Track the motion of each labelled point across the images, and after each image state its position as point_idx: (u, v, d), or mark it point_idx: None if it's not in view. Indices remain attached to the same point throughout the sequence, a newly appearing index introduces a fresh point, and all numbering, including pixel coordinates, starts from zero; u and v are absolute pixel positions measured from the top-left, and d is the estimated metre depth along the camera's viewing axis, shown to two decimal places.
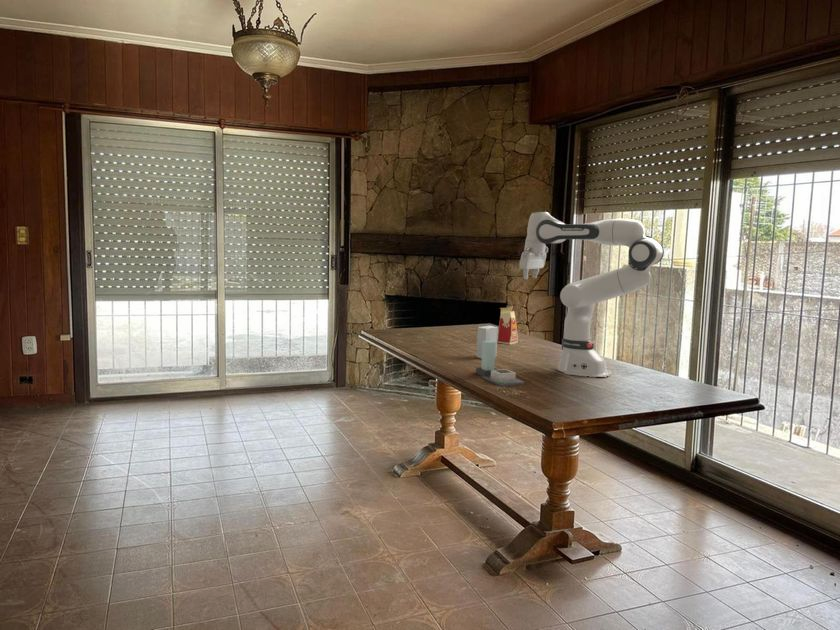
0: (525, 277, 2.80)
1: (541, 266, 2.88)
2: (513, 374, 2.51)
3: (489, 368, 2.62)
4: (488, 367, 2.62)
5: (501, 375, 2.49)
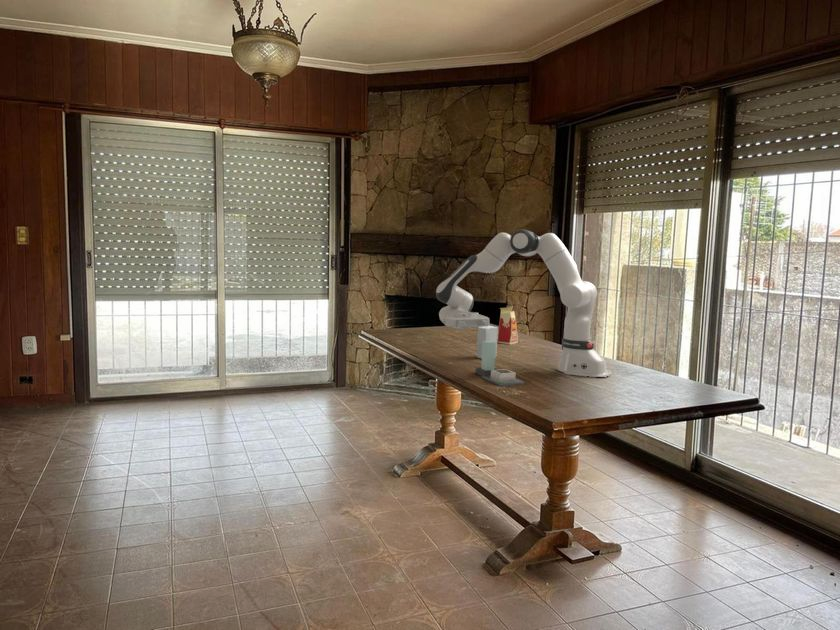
0: (463, 324, 2.72)
1: (482, 318, 2.81)
2: (513, 374, 2.51)
3: (489, 368, 2.62)
4: (488, 367, 2.62)
5: (501, 375, 2.49)
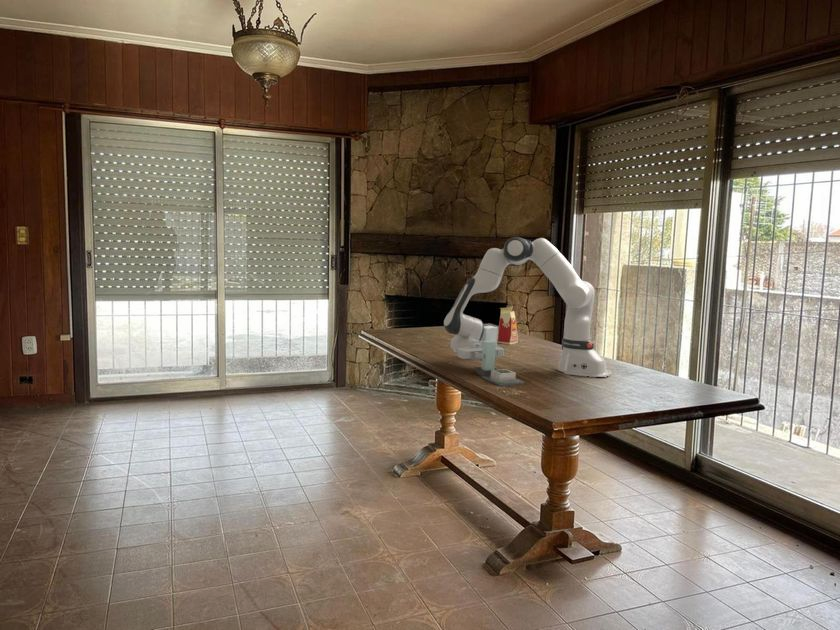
0: (481, 356, 2.62)
1: (497, 348, 2.70)
2: (513, 374, 2.51)
3: (489, 368, 2.62)
4: (488, 367, 2.62)
5: (501, 375, 2.49)
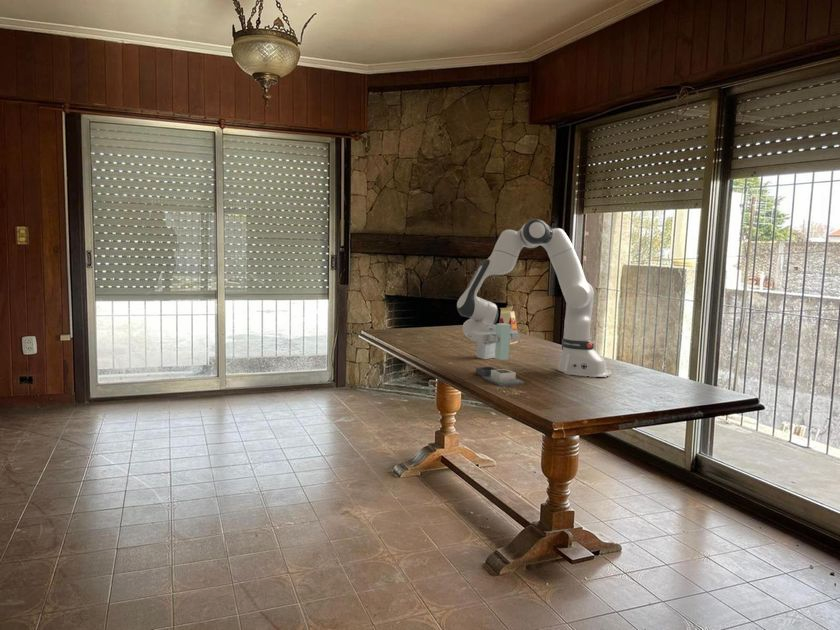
0: (495, 339, 2.51)
1: (511, 332, 2.60)
2: (513, 374, 2.51)
3: (504, 352, 2.52)
4: (502, 351, 2.51)
5: (501, 375, 2.49)
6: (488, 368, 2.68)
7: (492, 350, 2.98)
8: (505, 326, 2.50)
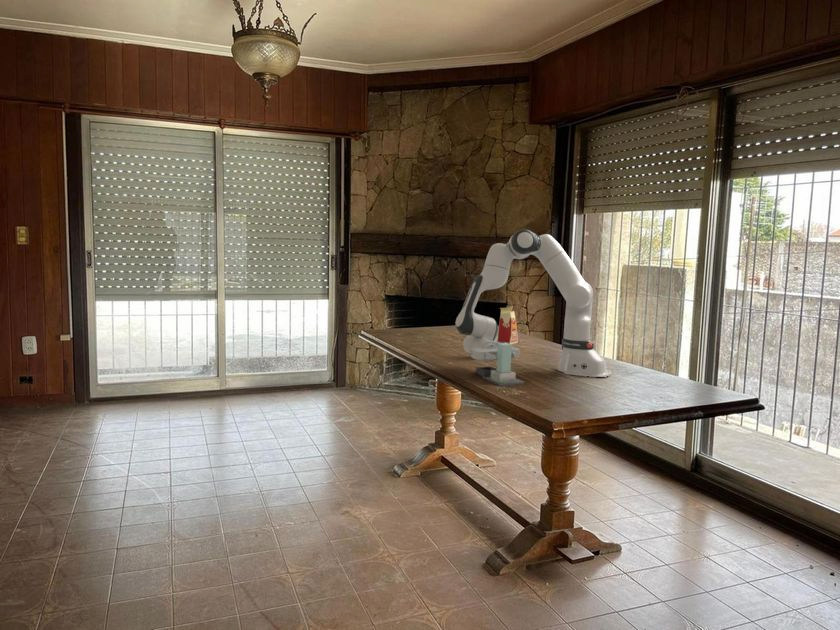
0: (492, 357, 2.50)
1: (512, 349, 2.59)
2: (513, 374, 2.51)
3: (505, 372, 2.51)
4: (503, 371, 2.51)
5: (501, 375, 2.49)
6: (488, 368, 2.68)
7: None
8: (506, 346, 2.50)
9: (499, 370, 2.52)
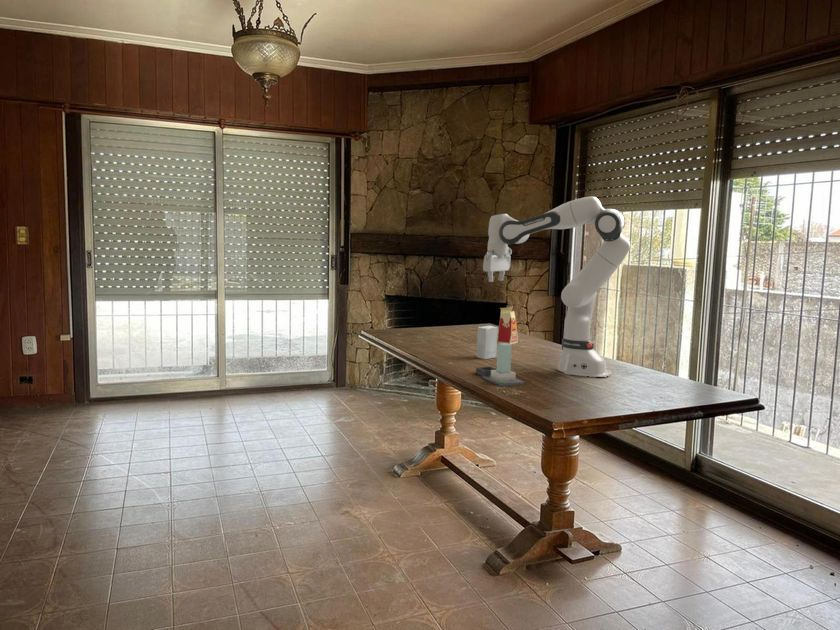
0: (490, 280, 2.80)
1: (506, 268, 2.89)
2: (513, 374, 2.51)
3: (505, 372, 2.51)
4: (503, 371, 2.51)
5: (501, 375, 2.49)
6: (488, 368, 2.68)
7: (492, 350, 2.98)
8: (506, 346, 2.50)
9: (499, 370, 2.52)
